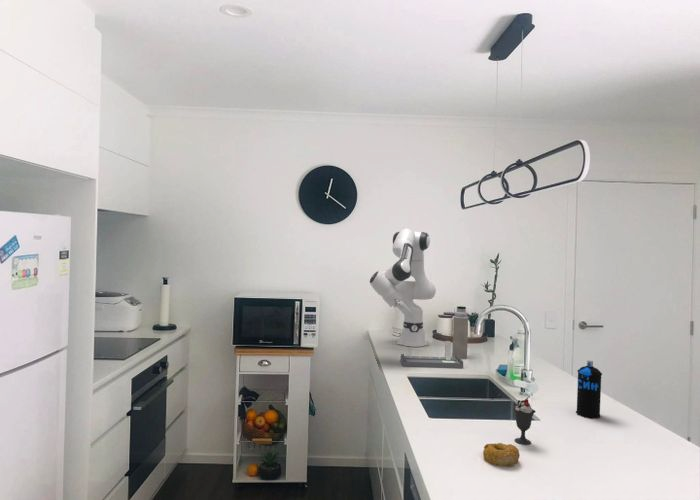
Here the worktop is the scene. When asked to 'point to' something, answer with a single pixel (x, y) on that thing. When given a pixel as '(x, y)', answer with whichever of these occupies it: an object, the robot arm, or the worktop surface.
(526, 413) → the sundae
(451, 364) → the console
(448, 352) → the fader knob
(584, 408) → the aerosol can
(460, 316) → the thermos bottle
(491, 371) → the worktop surface
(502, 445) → the bagel
